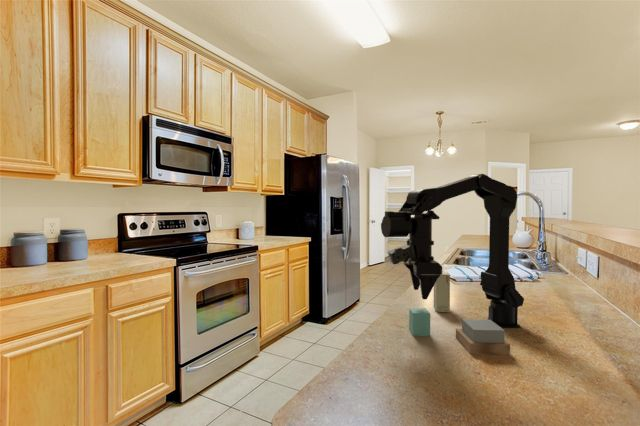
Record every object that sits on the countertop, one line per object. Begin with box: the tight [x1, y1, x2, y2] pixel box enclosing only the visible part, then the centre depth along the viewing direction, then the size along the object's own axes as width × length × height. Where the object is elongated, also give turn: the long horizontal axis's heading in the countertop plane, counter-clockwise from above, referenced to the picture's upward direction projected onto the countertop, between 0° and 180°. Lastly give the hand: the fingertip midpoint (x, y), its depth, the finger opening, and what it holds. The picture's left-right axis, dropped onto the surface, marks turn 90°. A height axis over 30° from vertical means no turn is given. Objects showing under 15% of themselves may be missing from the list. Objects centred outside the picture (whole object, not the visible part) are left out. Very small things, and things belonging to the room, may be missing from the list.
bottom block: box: [455, 328, 511, 356], centre depth 81 cm, size 9×9×3 cm
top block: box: [461, 318, 506, 343], centre depth 80 cm, size 7×7×3 cm
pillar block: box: [408, 307, 431, 337], centre depth 89 cm, size 4×4×6 cm
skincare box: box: [433, 270, 451, 313], centre depth 108 cm, size 6×4×12 cm
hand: (420, 294), depth 89 cm, fingers open, 9 cm apart
